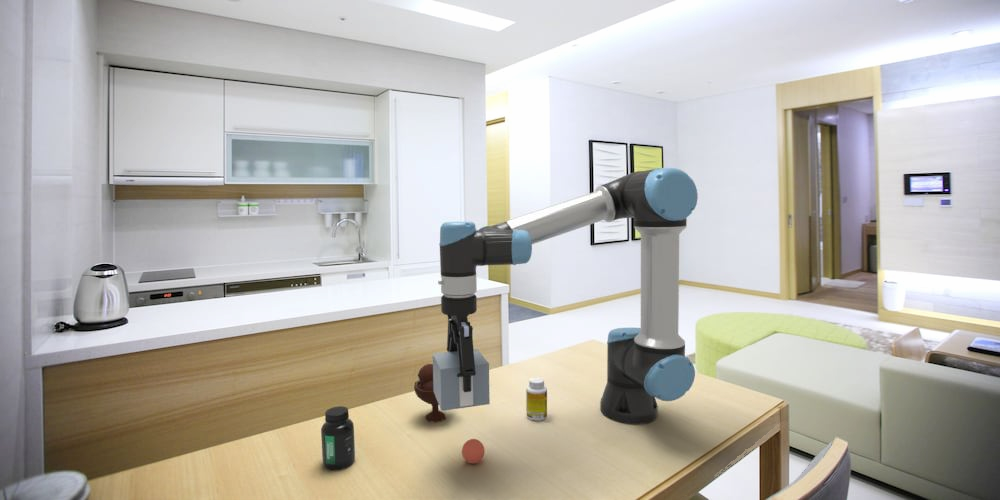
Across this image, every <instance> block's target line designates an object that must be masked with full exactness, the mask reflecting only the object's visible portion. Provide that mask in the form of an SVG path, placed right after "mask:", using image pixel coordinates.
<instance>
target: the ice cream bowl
mask: <svg viewBox="0 0 1000 500" xmlns="http://www.w3.org/2000/svg"><path fill="white" fill-rule="evenodd" d="M417 377H418V379H419V380H417V381H415V382H414V386H413V388H414V393H415V395H416V397H417V398H418V399H420V400H421V401H423V402H424V403H427V404H428V405H431V411H430V412H428V413H426V415H425V421H426V422H429V423H439V422H442V421H444V420H445V419H446V414H445V412H444V411H441V410H439V409H440V408H439V404H438V401H437V399H436V396H435V394H434V387H433V363H427V364H424V365H423V366H422V367H421V368H420V369H419V370H418V373H417Z"/></svg>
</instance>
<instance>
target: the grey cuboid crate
mask: <svg viewBox="0 0 1000 500" xmlns="http://www.w3.org/2000/svg"><path fill="white" fill-rule="evenodd" d="M473 350H474V361H475V371H476V375H474V376H473V405H470V406H463V407H460V398H459V377H457V374H459V373H460V366H459V358H458V351H454V352H447V351H446V352H438V353H437V352H436V353H432V364H433V387H434V394H435V396H436V399H437V401H438V404H439V405H438V407H439V409H440V411H441V412H444V411H445V412H446V411H451V410H457V409H464V408H472V407H478V406H485V405H490V363H489V362H488V360H487V359H486V358H485V357H484V356H483V354H482V353H481V352H480V351H479V350H478V349H477V348H476V349H475V348H473ZM467 370H469V369H467Z"/></svg>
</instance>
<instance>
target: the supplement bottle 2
mask: <svg viewBox="0 0 1000 500" xmlns="http://www.w3.org/2000/svg"><path fill="white" fill-rule="evenodd" d="M528 381H529V382H528V385H527V386H526V390H525V392H526V393H525V394H526V395H525V396H526V399H525V404H526V405H525V409H526V411H525V412H526V413H525V415H526V417H527V418H528V420H532V421H536V422H537V421H543V420H545V419H547V416H548V388H547V386H546V385H545V380H544V378H541V377H531V378H530V379H528Z"/></svg>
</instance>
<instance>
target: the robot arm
mask: <svg viewBox="0 0 1000 500" xmlns="http://www.w3.org/2000/svg"><path fill="white" fill-rule="evenodd" d="M698 197H699V195H698V188H697V186H696V183H695V181H694V179H693V178H691V176H689V175H688V173H687V172H685V171H684V170H681V169H678V168H676V167H675V168H673V167H660V168H654V169H653V168H652V169H648V170H638V171H634V172H631V173H629V174H625V175H624V176H622V177H619V178H617V179H614V180H611V181H609V182H608V183H604V184H601V185H598V186H596V187H595V189H594V191H592V192H590V193H587V194H584V195H581V196H578V197H575V198H572V199H569V200H566V201H563V202H559V203H557V204H553V205H551V206H548V207H544V208H542V209H541V208H540V209H538V210H536V211H532V212H530V213H527V214H523V215H521V216H517V217H514V218H512V219H509V220H506V221H503V222H500V223H496V224H494V225H490V226H488V225H485V226H483V227H480V228H479V229H477V228H476V224H475V222H473V221H446V222H444V223H442V224H441V226H440V229H439V230H440V231H439V260H440V261H439V263H440V278H441V279H439V280H438V281H437V283H438V285H440V290H441V292H440V293H441V294H442V295H441V297H440V303H441V304H440V305H441V308H440V310H441V313H442V314H444V315H445V316H446V317H447V339H446V343H447V344H446V352H454V351H458V358H459V366H460V373H459V374H457V377H459V398H460V407H463V406H470V405H473V376H474V375H476V371H475V361H474V350H473V349H474V340H473V338H474V337H473V330H474V327H473V326H472V325H471V322H470V321H469V319H468V317H469V316H470V315H472V314H475V313H476V312H477V310H478V309H477V307H478V305H477V302H478V301H477V295H476V293H477V292H478V291H477V282H478V281H477V267H479V266H480V267H483V266H503V265H504V266H508V265H510V266H511V265H513V266H516V265H523V264H527V263H529V262H530V261H531V257H532V254H533V253H532V252H533V245H535V244H538V243H541V242H544V241H546V240H549V239H552V238H555V237H557V236H562V235H563V234H567V233H570V232H572V231H576V230H578V229H581V228H584V227H588V226H590V225H593V224H596V223H598V222H602V221H605V222H607V223H611V222H614V221H617V220H620V219H629V218H630V219H631V218H633V228H634V229H635V230H636V231H637V232H638V233H639V234H640V327H620V328H618V327H617V328H613V329H611V330H610V331H609V332H608V334H607V341H606V344H607V351H606V352H607V355H606V356H607V359H606V360H607V364H606V365H607V367H606V370H607V371H606V374H607V375H606V377H607V378H606V385H605V387H604V390H603V393H602V396H601V398H600V403H599V405H600V406H599V407H600V408H599V409H600V412H601V413H602V415H604V416H605V417H606V418H608V419H610V420H613V421H616V422H620V423H623V424H630V425H631V424H633V425H642V424H648V423H651V422H653V421H655V420H656V419H657V418H658V415H659V414H658V412H659V411H658V410H659V409H658V408H659V407H658V404H657V400H660V401H664V402H672V401H676V400H679V399H680V398H682V397H683V396H685V394H686V393H687V392H688V391H690V390H691V388H692V386H693V384H694V381H695V377H696V370H695V366H694V364H693V362H691V360H690V359H689V358H688V357H686V341H685V339H683V338H682V336H681V335H679V318H680V317H679V315H680V314H679V312H680V311H679V308H680V307H679V306H680V305H679V304H680V303H679V302H680V301H679V300H680V297H679V296H680V293H679V292H680V289H679V288H680V281H679V280H680V234H681V233H682V232H683V231H684V230H685V229H686V228H687V222H688V219H687V218H688V217H689V216H691V215H692V213H693V211H694V210H695V209H696V207H697V204H698ZM467 369H469V370H467ZM656 399H657V400H656Z"/></svg>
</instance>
